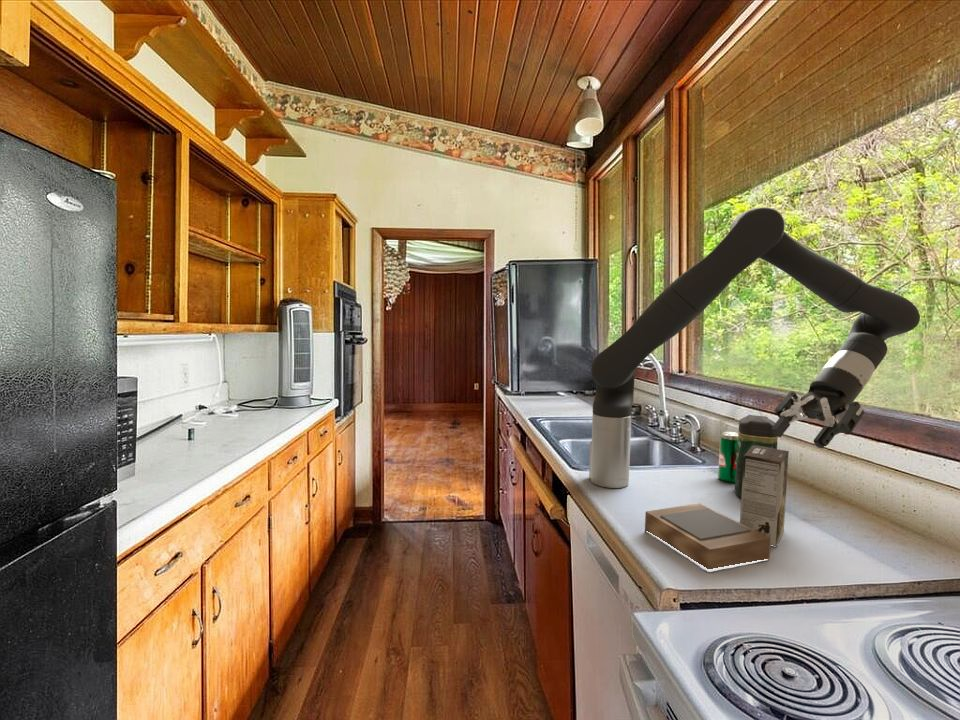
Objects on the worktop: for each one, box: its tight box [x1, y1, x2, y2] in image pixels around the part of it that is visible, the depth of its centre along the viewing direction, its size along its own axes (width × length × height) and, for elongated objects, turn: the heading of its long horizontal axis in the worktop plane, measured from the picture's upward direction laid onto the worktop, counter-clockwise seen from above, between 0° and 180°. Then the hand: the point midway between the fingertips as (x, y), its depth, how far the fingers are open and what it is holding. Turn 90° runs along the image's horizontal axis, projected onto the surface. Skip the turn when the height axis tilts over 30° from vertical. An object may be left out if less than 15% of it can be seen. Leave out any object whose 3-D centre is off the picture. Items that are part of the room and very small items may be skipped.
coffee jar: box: [734, 414, 779, 498], centre depth 113 cm, size 10×8×19 cm
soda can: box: [717, 431, 738, 484], centre depth 123 cm, size 5×5×12 cm
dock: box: [644, 503, 771, 569], centre depth 88 cm, size 16×13×4 cm
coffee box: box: [739, 445, 789, 547], centre depth 92 cm, size 9×6×16 cm
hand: (795, 439), depth 94 cm, fingers open, 8 cm apart
